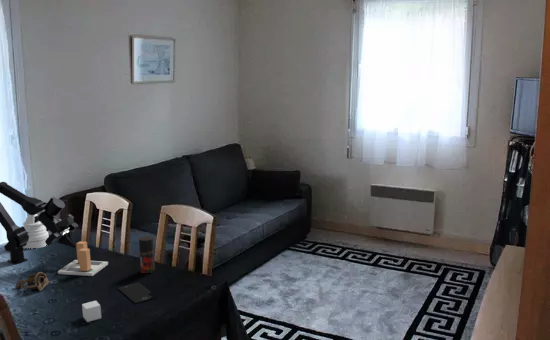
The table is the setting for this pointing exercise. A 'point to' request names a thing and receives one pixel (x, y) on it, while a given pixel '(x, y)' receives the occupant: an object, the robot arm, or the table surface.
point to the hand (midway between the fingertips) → (75, 247)
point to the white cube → (91, 311)
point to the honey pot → (35, 233)
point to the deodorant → (146, 254)
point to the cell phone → (135, 292)
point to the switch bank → (75, 270)
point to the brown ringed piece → (34, 281)
